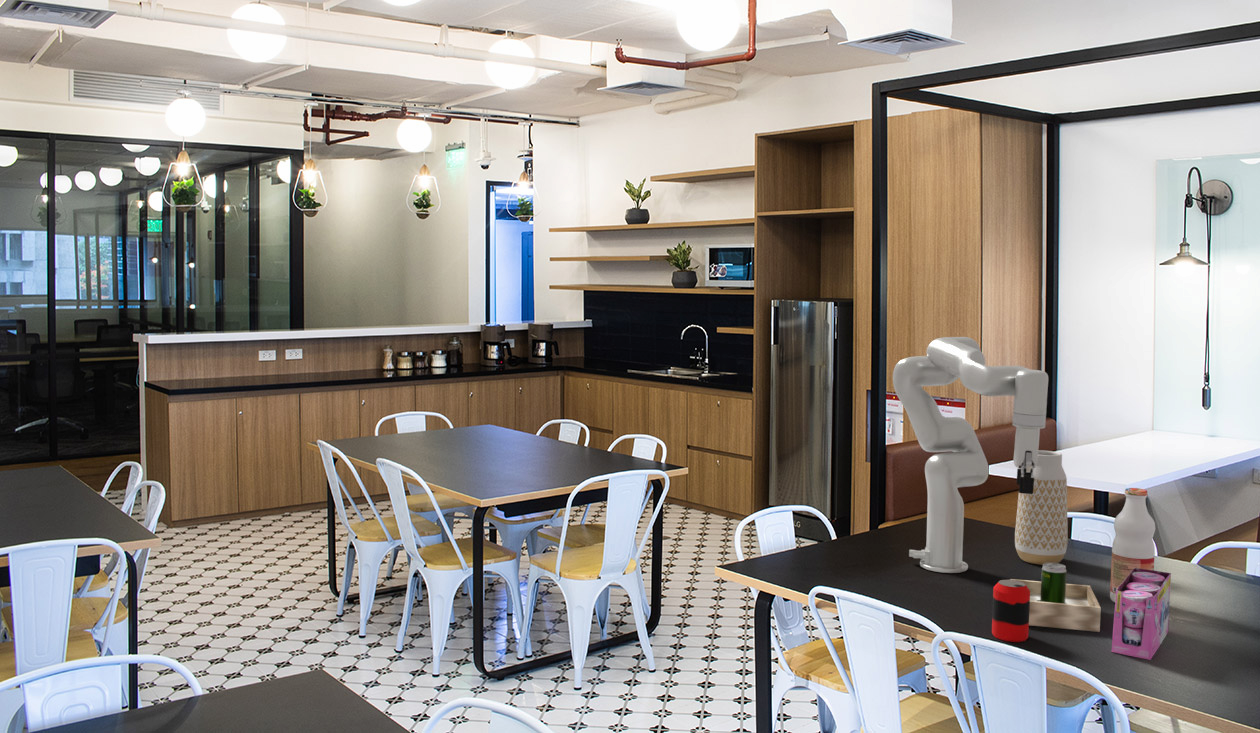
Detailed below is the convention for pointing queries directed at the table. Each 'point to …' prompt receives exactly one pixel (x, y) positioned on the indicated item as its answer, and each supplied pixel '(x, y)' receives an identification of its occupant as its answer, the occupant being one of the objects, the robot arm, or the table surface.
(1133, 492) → the fruit juice
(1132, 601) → the gum box
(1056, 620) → the crate
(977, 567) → the table surface
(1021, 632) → the soda can
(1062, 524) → the vase
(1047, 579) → the beer can
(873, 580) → the table surface
